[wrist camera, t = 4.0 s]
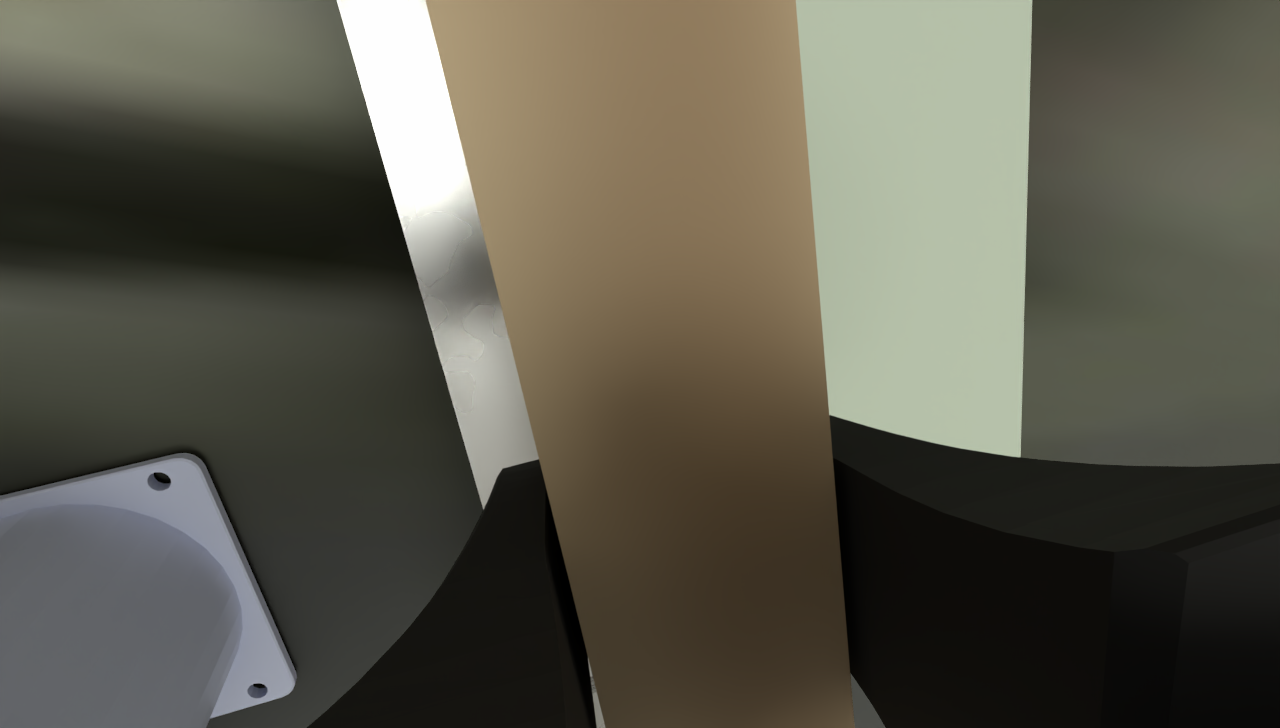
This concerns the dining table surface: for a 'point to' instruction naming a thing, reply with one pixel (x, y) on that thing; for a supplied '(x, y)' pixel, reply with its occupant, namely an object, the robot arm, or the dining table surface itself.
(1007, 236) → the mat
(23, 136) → the dining table surface
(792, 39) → the rail
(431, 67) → the rack
